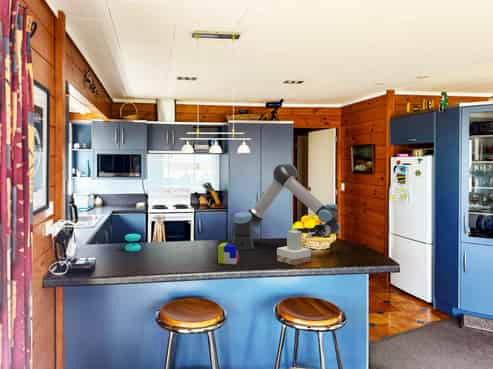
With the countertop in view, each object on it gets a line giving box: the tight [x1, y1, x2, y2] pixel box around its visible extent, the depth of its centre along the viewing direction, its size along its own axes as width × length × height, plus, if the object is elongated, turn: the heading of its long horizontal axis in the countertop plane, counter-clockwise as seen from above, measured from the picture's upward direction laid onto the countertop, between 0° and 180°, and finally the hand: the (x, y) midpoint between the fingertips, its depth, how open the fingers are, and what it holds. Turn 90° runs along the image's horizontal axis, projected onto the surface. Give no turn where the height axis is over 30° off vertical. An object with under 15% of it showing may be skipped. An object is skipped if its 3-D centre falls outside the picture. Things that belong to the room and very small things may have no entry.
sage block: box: [286, 229, 303, 250], centre depth 241 cm, size 6×6×10 cm
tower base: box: [276, 254, 312, 266], centre depth 242 cm, size 14×14×4 cm
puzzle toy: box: [217, 242, 240, 265], centre depth 239 cm, size 10×10×10 cm
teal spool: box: [124, 233, 142, 252], centre depth 266 cm, size 10×10×10 cm
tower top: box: [276, 245, 312, 259], centre depth 241 cm, size 14×14×4 cm
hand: (298, 234), depth 242 cm, fingers open, 13 cm apart
